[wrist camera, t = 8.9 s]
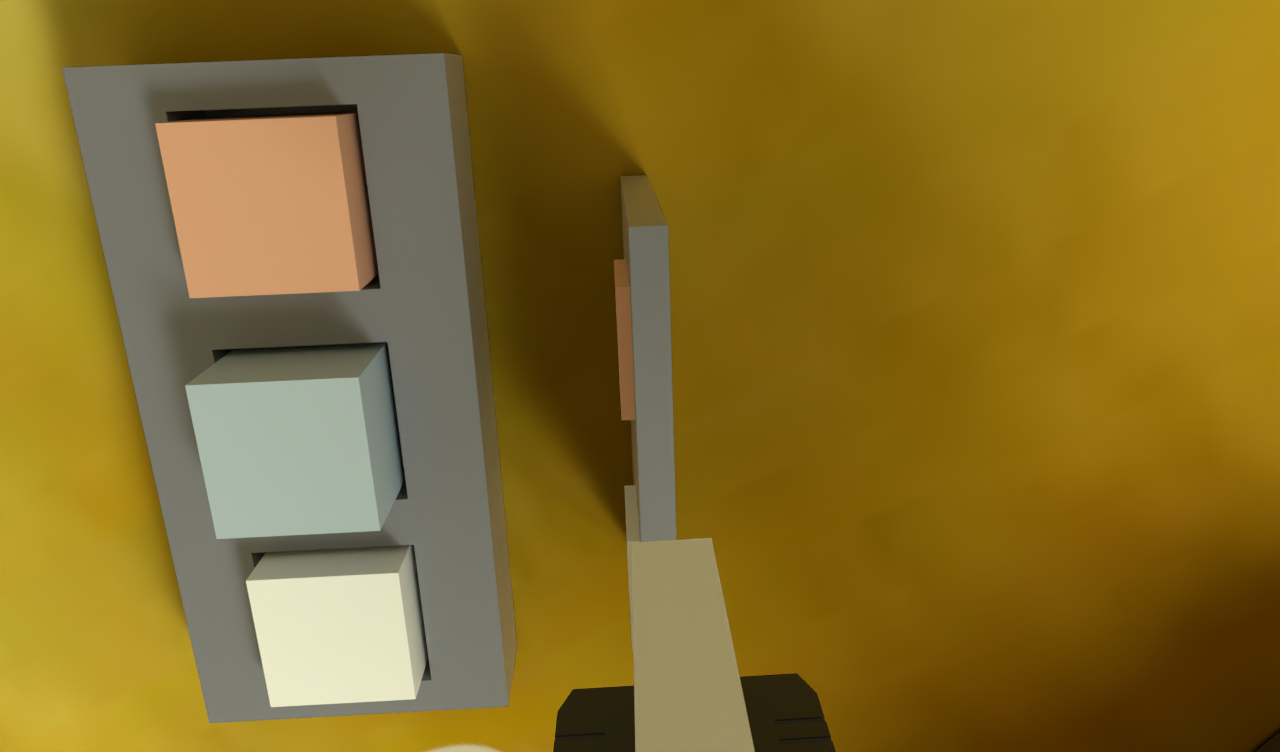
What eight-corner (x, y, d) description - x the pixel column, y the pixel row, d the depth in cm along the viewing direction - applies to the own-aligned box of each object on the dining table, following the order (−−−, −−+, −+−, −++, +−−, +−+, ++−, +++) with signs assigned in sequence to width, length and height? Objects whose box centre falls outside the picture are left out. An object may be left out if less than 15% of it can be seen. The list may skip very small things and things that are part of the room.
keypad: (662, 639, 41) (685, 857, 30) (246, 662, 40) (106, 892, 29) (642, 48, 33) (663, 35, 22) (125, 68, 33) (-132, 65, 21)
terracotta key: (387, 266, 34) (359, 290, 30) (236, 272, 33) (189, 298, 30) (367, 111, 32) (335, 116, 28) (208, 117, 32) (155, 123, 28)
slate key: (404, 480, 35) (380, 530, 31) (258, 487, 35) (216, 538, 31) (386, 342, 33) (358, 377, 29) (233, 349, 33) (184, 385, 29)
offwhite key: (434, 638, 39) (415, 699, 35) (303, 644, 39) (270, 707, 35) (419, 521, 37) (398, 572, 33) (282, 528, 37) (245, 580, 33)
